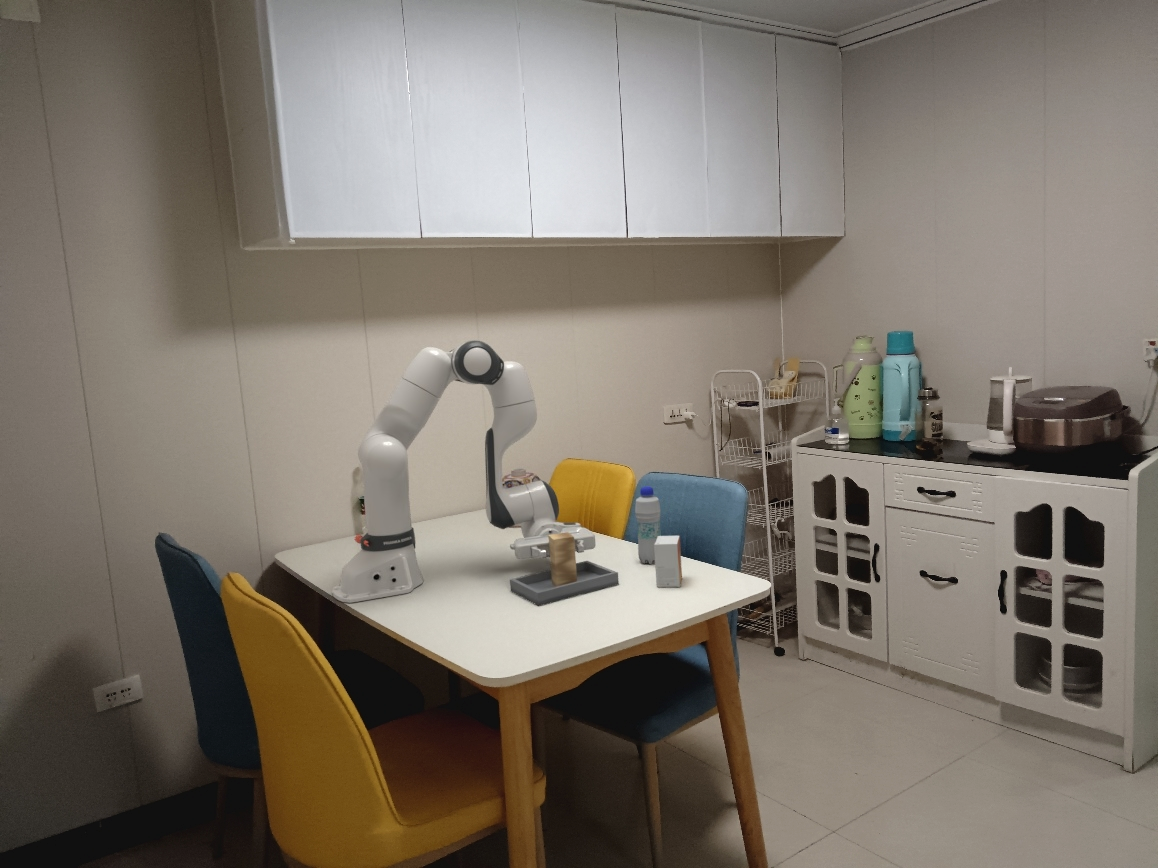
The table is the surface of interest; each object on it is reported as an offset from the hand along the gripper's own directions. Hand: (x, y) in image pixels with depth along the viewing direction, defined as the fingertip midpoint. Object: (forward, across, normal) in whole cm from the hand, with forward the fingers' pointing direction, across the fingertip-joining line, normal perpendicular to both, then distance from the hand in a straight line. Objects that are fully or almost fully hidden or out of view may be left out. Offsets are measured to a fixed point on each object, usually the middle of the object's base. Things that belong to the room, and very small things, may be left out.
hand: (562, 552), depth 194 cm
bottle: (-10, +26, +9) cm, 30 cm away
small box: (+8, +24, +9) cm, 27 cm away
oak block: (0, 0, +8) cm, 8 cm away
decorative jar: (-72, +6, +9) cm, 73 cm away
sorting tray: (0, 0, +9) cm, 9 cm away
